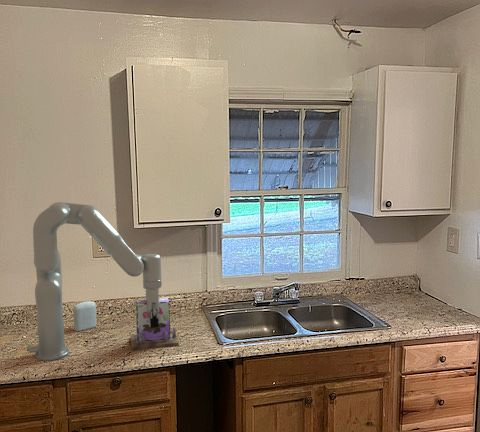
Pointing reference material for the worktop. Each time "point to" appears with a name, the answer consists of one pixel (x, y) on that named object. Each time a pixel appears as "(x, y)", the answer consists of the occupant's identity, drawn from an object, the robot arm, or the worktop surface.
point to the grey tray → (158, 343)
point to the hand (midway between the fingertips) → (153, 323)
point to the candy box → (144, 321)
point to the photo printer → (84, 315)
